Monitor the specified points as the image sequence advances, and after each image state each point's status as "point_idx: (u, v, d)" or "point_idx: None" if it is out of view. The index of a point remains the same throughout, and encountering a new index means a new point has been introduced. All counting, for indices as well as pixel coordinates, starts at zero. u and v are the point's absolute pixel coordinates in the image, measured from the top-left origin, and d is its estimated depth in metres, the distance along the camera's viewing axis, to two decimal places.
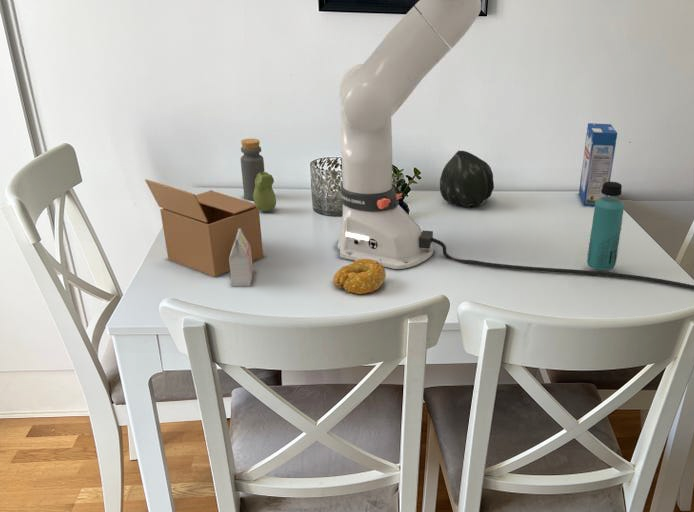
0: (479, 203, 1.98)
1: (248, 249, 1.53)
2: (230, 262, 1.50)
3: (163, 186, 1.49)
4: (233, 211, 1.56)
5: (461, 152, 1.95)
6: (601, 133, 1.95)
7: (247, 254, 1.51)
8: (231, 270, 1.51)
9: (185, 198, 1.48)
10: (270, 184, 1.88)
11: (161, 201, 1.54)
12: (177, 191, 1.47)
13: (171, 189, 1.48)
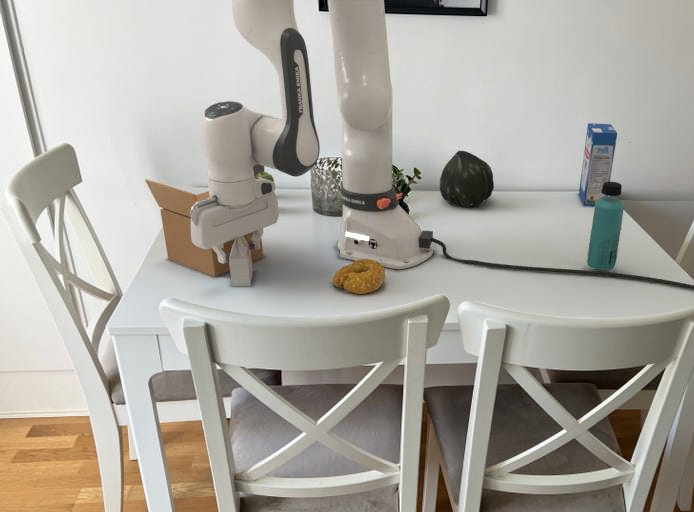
0: (479, 203, 1.98)
1: (248, 249, 1.53)
2: (230, 262, 1.50)
3: (163, 186, 1.49)
4: None
5: (461, 152, 1.95)
6: (601, 133, 1.95)
7: (247, 254, 1.51)
8: (231, 270, 1.51)
9: (185, 198, 1.48)
10: None
11: (161, 201, 1.54)
12: (177, 191, 1.47)
13: (171, 189, 1.48)
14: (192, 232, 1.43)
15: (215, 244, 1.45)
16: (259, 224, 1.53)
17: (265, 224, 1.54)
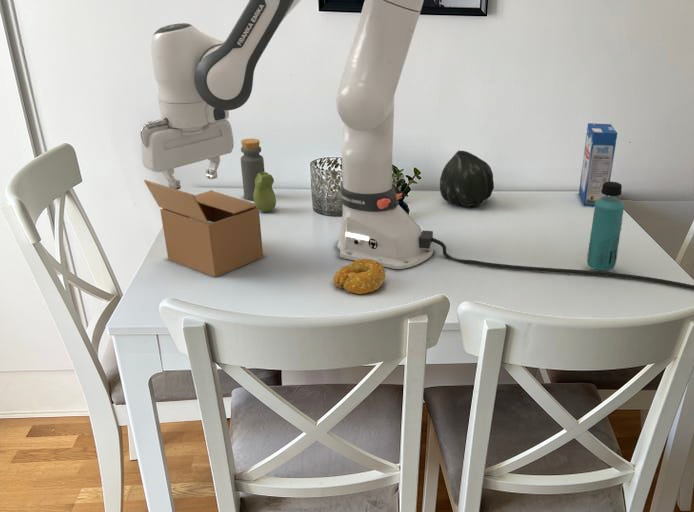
0: (479, 203, 1.98)
1: None
2: None
3: (162, 187, 1.49)
4: (233, 211, 1.56)
5: (461, 152, 1.95)
6: (601, 133, 1.95)
7: None
8: None
9: (184, 199, 1.48)
10: (270, 184, 1.88)
11: (161, 201, 1.54)
12: (176, 191, 1.47)
13: (170, 190, 1.48)
14: (143, 155, 1.42)
15: (167, 168, 1.44)
16: (213, 152, 1.52)
17: (219, 152, 1.54)
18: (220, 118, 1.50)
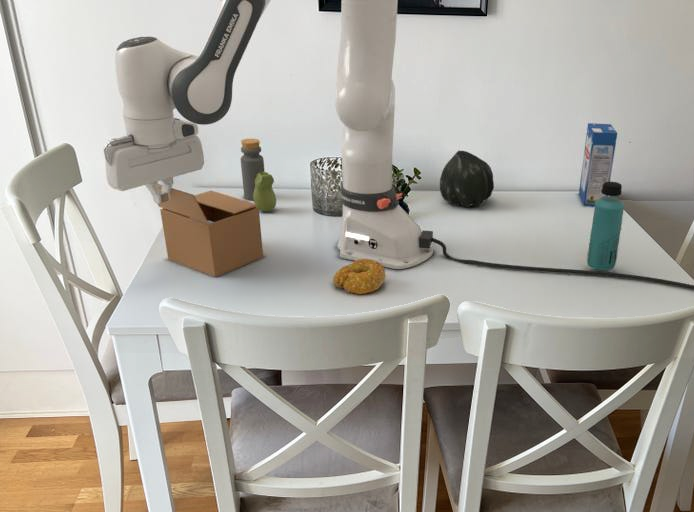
0: (479, 203, 1.98)
1: None
2: None
3: None
4: (233, 211, 1.56)
5: (461, 152, 1.95)
6: (601, 133, 1.95)
7: None
8: None
9: (184, 199, 1.48)
10: (270, 184, 1.88)
11: None
12: (176, 191, 1.47)
13: None
14: (107, 173, 1.37)
15: (132, 186, 1.39)
16: (182, 169, 1.47)
17: (189, 169, 1.49)
18: (189, 134, 1.44)
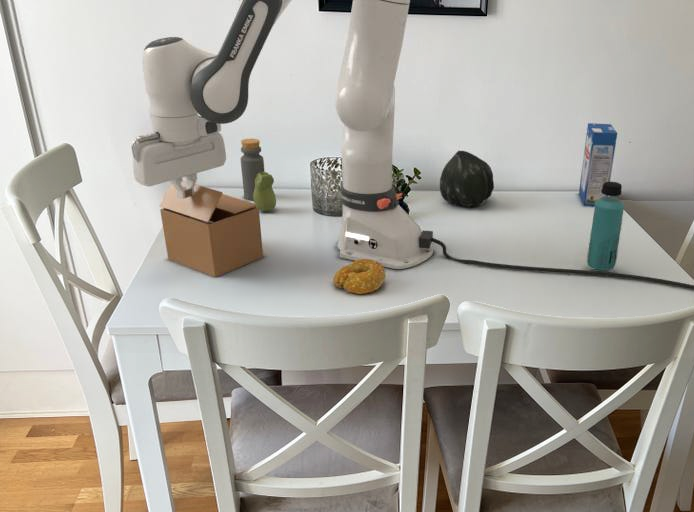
0: (479, 203, 1.98)
1: None
2: None
3: None
4: (233, 211, 1.56)
5: (461, 152, 1.95)
6: (601, 133, 1.95)
7: None
8: None
9: (206, 196, 1.52)
10: (270, 184, 1.88)
11: (169, 200, 1.56)
12: (204, 188, 1.53)
13: (198, 187, 1.54)
14: (134, 169, 1.42)
15: (158, 182, 1.44)
16: (205, 165, 1.52)
17: (212, 165, 1.53)
18: (212, 131, 1.49)
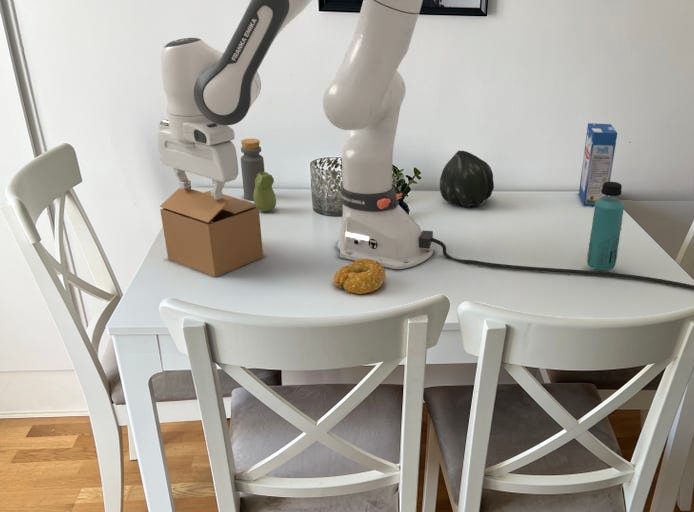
0: (479, 203, 1.98)
1: None
2: None
3: (198, 192, 1.57)
4: (233, 211, 1.56)
5: (461, 152, 1.95)
6: (601, 133, 1.95)
7: None
8: None
9: (212, 202, 1.54)
10: (270, 184, 1.88)
11: (172, 202, 1.56)
12: None
13: (205, 194, 1.56)
14: None
15: (167, 164, 1.55)
16: (205, 172, 1.49)
17: (211, 176, 1.49)
18: (201, 141, 1.44)
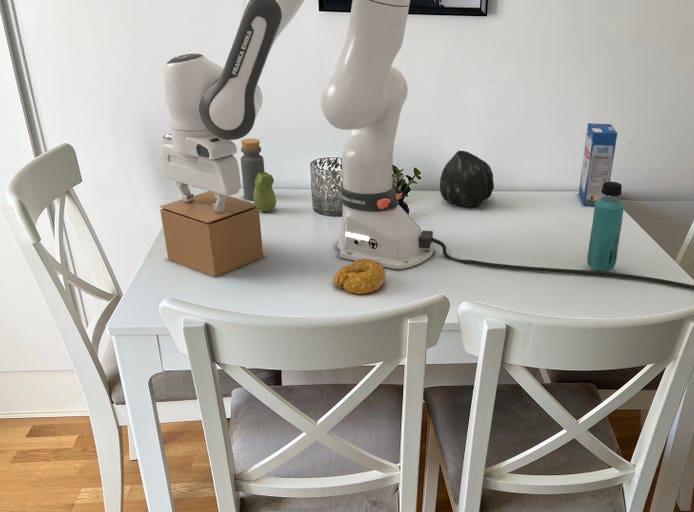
0: (479, 203, 1.98)
1: None
2: None
3: (202, 204, 1.59)
4: (233, 211, 1.56)
5: (461, 152, 1.95)
6: (601, 133, 1.95)
7: None
8: None
9: None
10: (270, 184, 1.88)
11: (174, 205, 1.57)
12: None
13: (209, 206, 1.58)
14: None
15: (170, 178, 1.56)
16: (208, 186, 1.51)
17: (213, 189, 1.50)
18: (203, 155, 1.46)
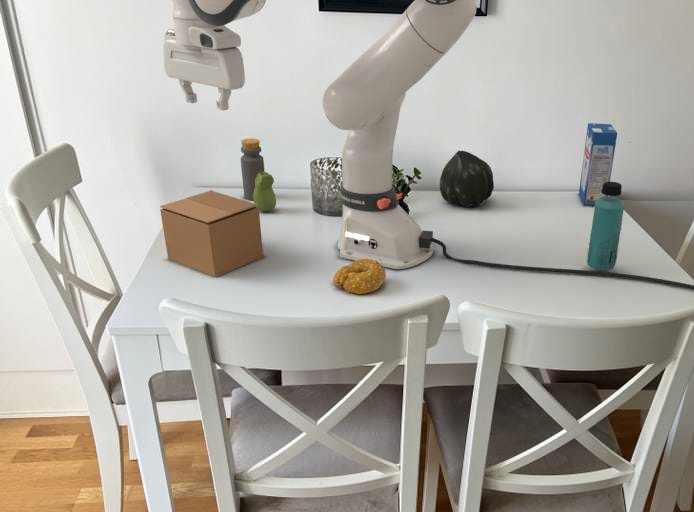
0: (479, 203, 1.98)
1: None
2: None
3: (202, 204, 1.59)
4: (233, 211, 1.56)
5: (461, 152, 1.95)
6: (601, 133, 1.95)
7: None
8: None
9: (215, 211, 1.55)
10: (270, 184, 1.88)
11: (174, 205, 1.57)
12: (215, 208, 1.57)
13: (209, 206, 1.58)
14: None
15: (173, 76, 1.53)
16: (211, 80, 1.48)
17: (217, 84, 1.47)
18: (207, 45, 1.43)
